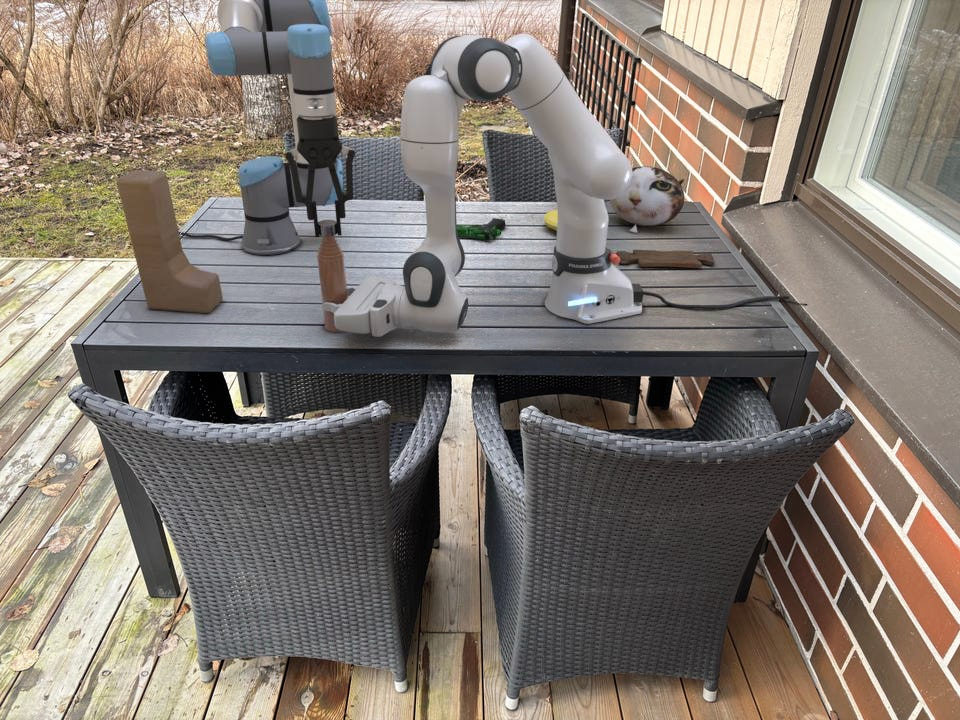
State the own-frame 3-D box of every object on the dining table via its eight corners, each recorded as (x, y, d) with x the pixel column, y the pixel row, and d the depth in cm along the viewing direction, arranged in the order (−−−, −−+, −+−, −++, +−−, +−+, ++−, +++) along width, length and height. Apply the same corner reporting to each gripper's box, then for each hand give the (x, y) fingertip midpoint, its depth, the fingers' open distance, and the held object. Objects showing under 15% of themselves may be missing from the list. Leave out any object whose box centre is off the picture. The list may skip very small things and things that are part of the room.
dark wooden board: (718, 270, 186) (709, 256, 195) (719, 264, 186) (710, 250, 194) (619, 267, 187) (614, 252, 195) (620, 261, 186) (615, 247, 194)
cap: (335, 228, 148) (334, 218, 147) (340, 235, 145) (339, 224, 144) (316, 231, 147) (315, 220, 146) (321, 237, 144) (319, 227, 143)
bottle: (344, 318, 160) (335, 220, 149) (354, 328, 156) (345, 228, 145) (321, 324, 158) (310, 224, 146) (330, 334, 154) (319, 233, 142)
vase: (559, 216, 220) (561, 193, 217) (605, 227, 212) (608, 204, 209) (532, 230, 209) (533, 207, 206) (580, 242, 201) (582, 218, 198)
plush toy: (590, 213, 207) (612, 150, 209) (606, 237, 223) (627, 178, 224) (664, 227, 196) (687, 160, 198) (675, 250, 212) (697, 189, 214)
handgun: (511, 219, 210) (493, 234, 198) (511, 228, 211) (492, 244, 199) (461, 212, 215) (440, 226, 203) (461, 221, 217) (440, 236, 204)
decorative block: (209, 314, 161) (183, 183, 145) (146, 309, 162) (114, 179, 147) (224, 300, 167) (200, 172, 152) (163, 295, 169) (134, 168, 153)
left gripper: (269, 121, 129) (285, 243, 141) (363, 118, 133) (371, 237, 145) (271, 112, 136) (286, 229, 148) (360, 110, 139) (368, 225, 151)
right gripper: (406, 272, 158) (348, 266, 161) (374, 313, 141) (309, 305, 144) (407, 298, 162) (350, 291, 164) (376, 341, 144) (312, 333, 147)
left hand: (328, 233), depth 146 cm, fingers closed on cap, 4 cm apart
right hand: (330, 298), depth 154 cm, fingers closed on bottle, 5 cm apart
